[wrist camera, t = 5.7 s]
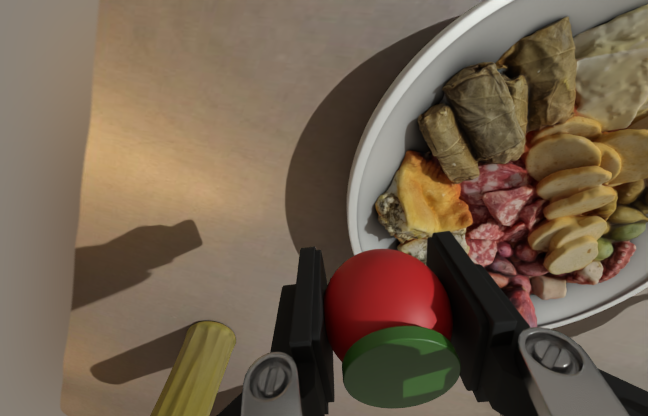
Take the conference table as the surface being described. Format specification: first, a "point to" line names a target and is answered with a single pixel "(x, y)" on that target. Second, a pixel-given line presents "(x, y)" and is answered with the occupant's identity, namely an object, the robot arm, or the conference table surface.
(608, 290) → the bowl
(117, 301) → the conference table surface
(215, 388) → the vase
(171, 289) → the conference table surface
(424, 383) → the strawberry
